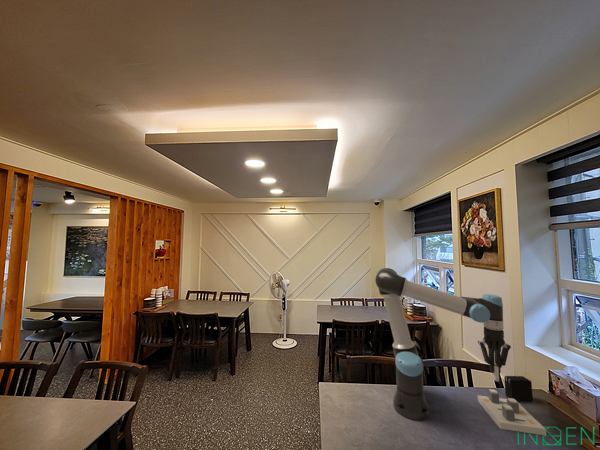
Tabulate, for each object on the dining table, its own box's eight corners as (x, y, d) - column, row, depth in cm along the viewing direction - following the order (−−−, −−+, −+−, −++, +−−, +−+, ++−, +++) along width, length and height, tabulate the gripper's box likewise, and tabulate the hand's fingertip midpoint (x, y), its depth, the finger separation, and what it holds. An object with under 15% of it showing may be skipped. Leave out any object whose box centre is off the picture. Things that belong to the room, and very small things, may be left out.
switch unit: (500, 428, 100) (499, 422, 100) (477, 400, 118) (477, 395, 119) (546, 435, 96) (545, 428, 97) (515, 405, 115) (515, 399, 115)
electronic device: (533, 402, 118) (531, 380, 119) (512, 401, 118) (511, 380, 119) (525, 396, 122) (523, 376, 123) (505, 396, 122) (504, 375, 123)
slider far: (492, 402, 113) (491, 392, 113) (488, 398, 116) (488, 388, 116) (499, 403, 112) (498, 393, 113) (495, 399, 115) (495, 389, 116)
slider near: (506, 419, 101) (505, 408, 102) (502, 415, 104) (501, 403, 105) (514, 421, 101) (514, 409, 101) (510, 416, 104) (509, 404, 104)
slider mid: (511, 412, 106) (510, 401, 107) (507, 408, 109) (506, 397, 110) (519, 413, 106) (518, 402, 106) (515, 409, 108) (514, 398, 109)
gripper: (482, 329, 112) (484, 382, 110) (514, 332, 110) (517, 386, 108) (474, 324, 120) (475, 373, 118) (504, 326, 117) (506, 377, 115)
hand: (495, 379), depth 113 cm, fingers closed
